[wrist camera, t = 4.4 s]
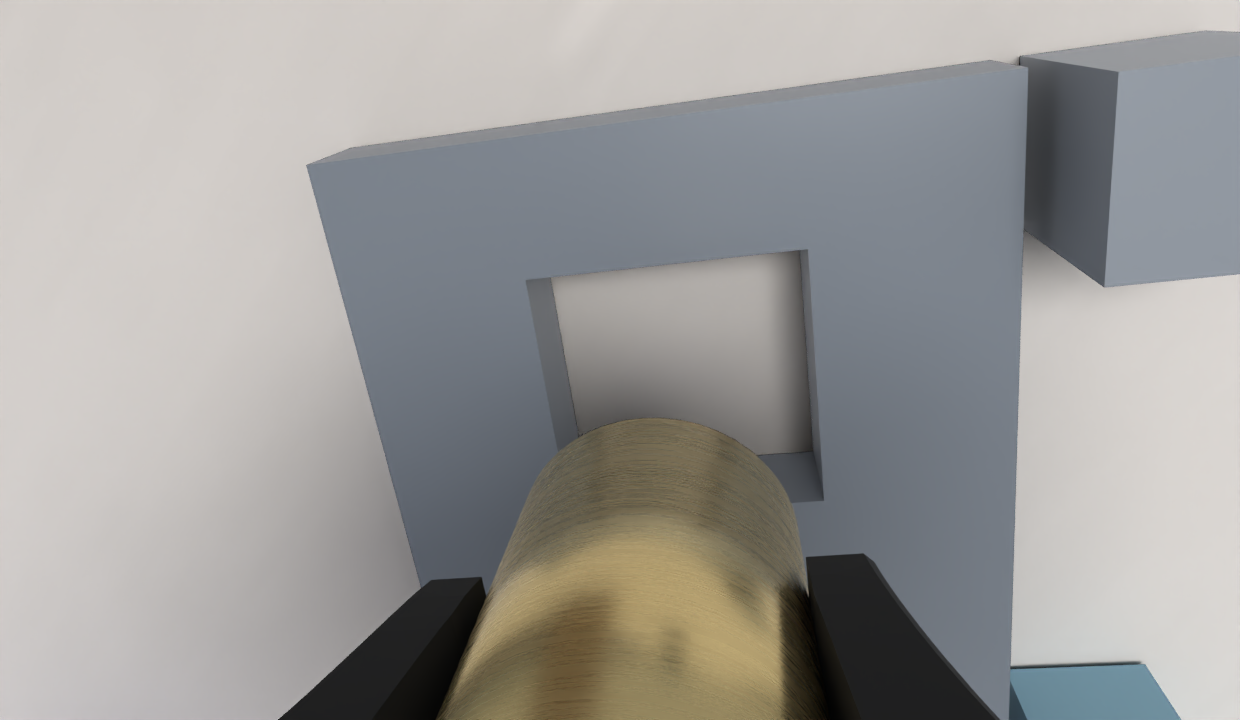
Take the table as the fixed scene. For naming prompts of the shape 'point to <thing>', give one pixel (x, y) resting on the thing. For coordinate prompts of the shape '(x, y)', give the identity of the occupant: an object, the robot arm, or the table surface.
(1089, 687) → the light blue rectangular block
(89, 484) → the table surface
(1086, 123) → the grey holder tray
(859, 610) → the robot arm
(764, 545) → the cylinder
